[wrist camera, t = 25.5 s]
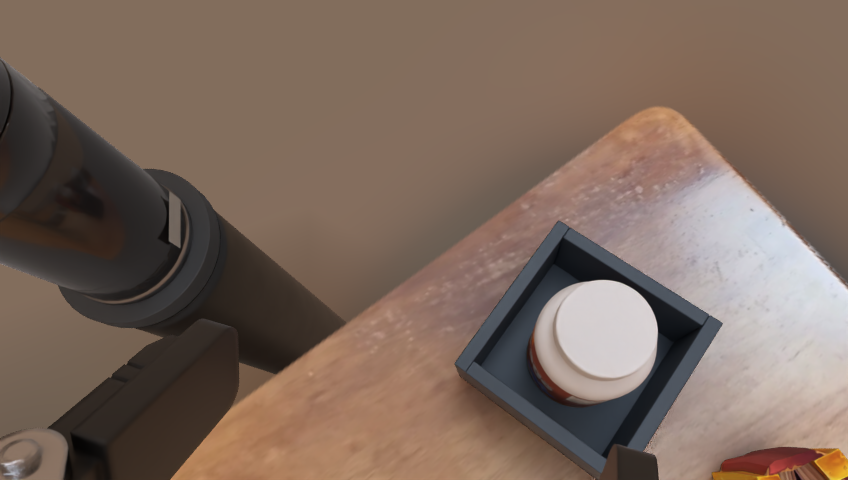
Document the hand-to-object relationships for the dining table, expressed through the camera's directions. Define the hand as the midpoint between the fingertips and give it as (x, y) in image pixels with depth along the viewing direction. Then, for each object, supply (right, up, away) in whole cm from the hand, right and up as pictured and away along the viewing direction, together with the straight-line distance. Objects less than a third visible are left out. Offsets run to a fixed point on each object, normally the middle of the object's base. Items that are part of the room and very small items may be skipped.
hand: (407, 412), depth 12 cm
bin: (+10, -4, +27) cm, 29 cm away
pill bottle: (+10, -4, +26) cm, 28 cm away
